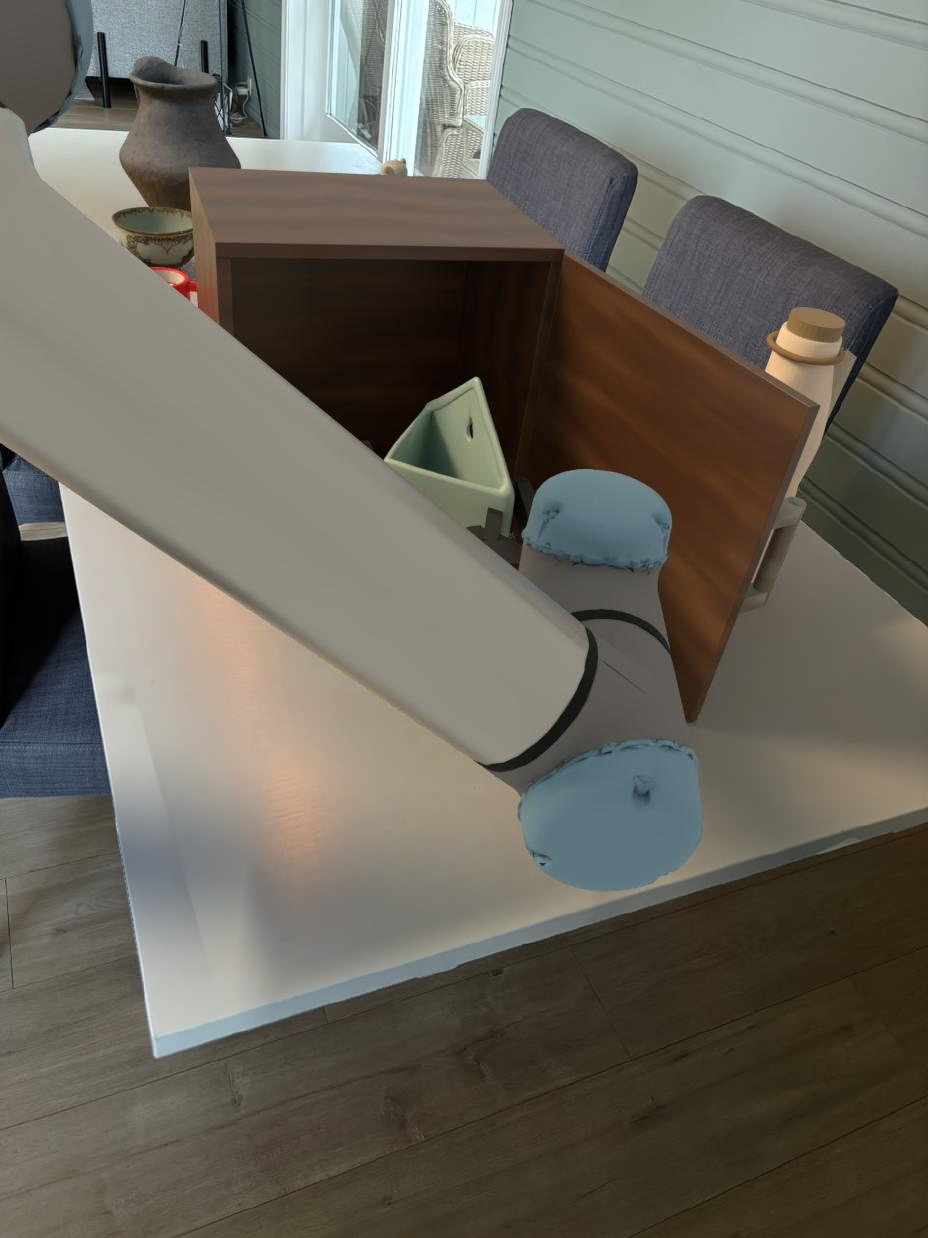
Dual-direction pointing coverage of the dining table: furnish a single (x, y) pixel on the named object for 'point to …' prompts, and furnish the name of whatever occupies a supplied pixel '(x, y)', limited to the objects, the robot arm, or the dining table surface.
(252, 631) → the dining table surface
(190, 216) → the bowl
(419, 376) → the cupboard
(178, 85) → the pitcher
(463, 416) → the planter
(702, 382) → the cupboard door
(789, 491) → the water bottle
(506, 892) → the dining table surface
